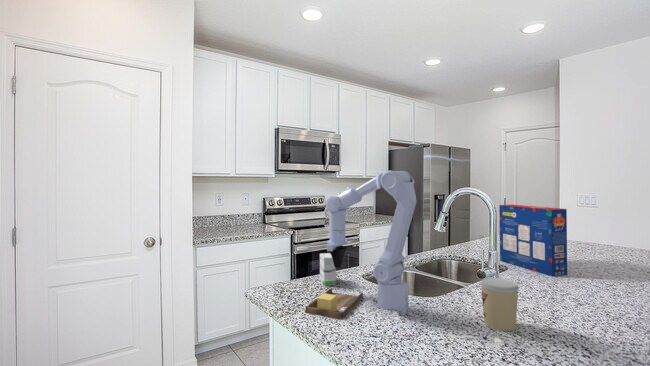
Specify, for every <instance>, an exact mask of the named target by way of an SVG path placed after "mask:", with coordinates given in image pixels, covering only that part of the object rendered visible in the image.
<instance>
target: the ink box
mask: <svg viewBox="0 0 650 366" xmlns="http://www.w3.org/2000/svg"><path fill="white" fill-rule="evenodd" d="M319 280H320V282H321V284H323V286H326V287H327V286H336V285H337V268H336V267H334V263H333V259H332V256H331V254H330V252H327V253H326V252H324V253H323V252H322V253H319Z"/></svg>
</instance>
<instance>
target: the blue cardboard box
mask: <svg viewBox="0 0 650 366" xmlns="http://www.w3.org/2000/svg"><path fill="white" fill-rule="evenodd" d="M498 208H499V261H500V262H502V263H505V264H506V263H507V264H509V265H513V266H517V267H520V268H522V269H525V270H529V271H532V272H536V273H539V274H542V275H545V276H549V277H562V276H568V228H567V227H568V225H567V224H568V222H567V221H568V219H567V218H568V215H567V212H568V211H567V208H558V207H557V208H556V207H548V206H547V207H546V206H536V205H535V206H534V205H522V204H499V207H498Z"/></svg>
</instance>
